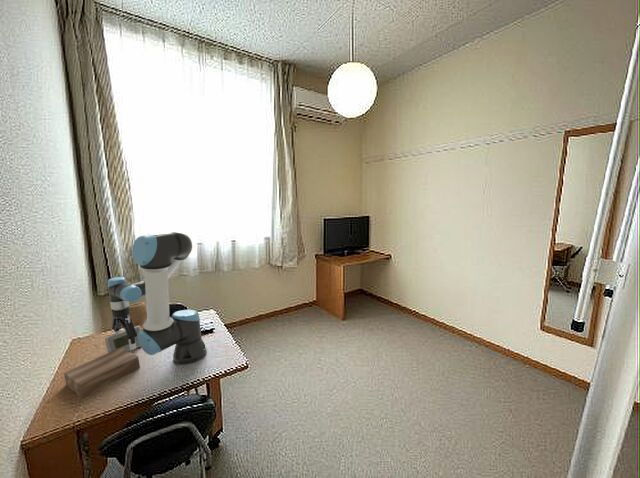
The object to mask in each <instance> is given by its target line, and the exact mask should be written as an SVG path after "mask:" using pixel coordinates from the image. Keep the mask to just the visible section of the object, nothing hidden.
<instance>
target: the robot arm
mask: <svg viewBox="0 0 640 478" xmlns="http://www.w3.org/2000/svg"><path fill="white" fill-rule="evenodd" d="M131 249H132V250H131V255H132V257H133V262H135V264H137V265H138V266H139V267H140V269H142V270H143V271H144V280H140V281H137V282H133V283H127V280H126V277H123V276H116V277H112V278H109V279H108V280H107V290H108V291H107V292H108V294H109V296H108V297H109V304H110V309H111V316H112V324H111V329H112V330H113V332H114V334H116V333H118V332H121V331H122V328H123V329H124V330H125V331H126V333H127V334H128V336H129V338H128V340H129V347H130V350H132V351H134V350H133V349H135V348H136V341H135V337H138V341H139V344H140V346H141V347H140V348H141V349H142V350H143V351H144V352H145V354H147V355H149V356H154V355H156V354H158V353H162V352H163V351H164V350H166V349H168V348H171V347H173V346H174V345H175V346H174V351H173V354H172V355H173V357H172V358H173V362H174V363H176V364H178V365H187V364H192V363H195V362H198V361H200V360H201V359H203V358H204V357H205V356H206V354H207V346H206V344H205V342H204V340H203V339H202V332H201V331H202V330H201V318H200V314H199V312H198V311H197V310H194V309H183V310H177V311H174V312H173V313H172V315H171V316H170V295H169V294H170V293H169V278H170V277H171V276H172V274H173V273H174V272H175V271H176V269H177V268H178V266H180V264H181V263H182V261H185V260H187V258H189V256H190V254H191V253H192V251H193V242H192V240H191V237H189V235H188V234H186V233H185V232H182V231H179V230H170V231H164V232H155V233H148V234H144V235H141V236H140V235H139V236H138V237H136V239H135V240H134V241H133V244H132V248H131ZM142 297H145V305H146V310H147V312H146V318H147V321H145V322H144V324H143V330H142V331H140V332H139V333H138V336H137V333H136V331H135V328H134V325H133V323H132V319H131V318H130V317H129V315H128V314H129V313H130V306H129V305H130V303H135V302H137V301H139V299H141V298H142ZM135 350H136V349H135Z"/></svg>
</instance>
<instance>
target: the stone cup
mask: <svg viewBox="0 0 640 478" xmlns="http://www.w3.org/2000/svg"><path fill="white" fill-rule="evenodd" d="M129 306H130V313H129V314H128V315H127V316H128V318H131V319H132V323H133V325H134V327H136V326H140V328H141V331H143V324H144V322H145V321H147V310H146V302H144V301H140V302H136V303H135V302H134V303H133V304H129Z"/></svg>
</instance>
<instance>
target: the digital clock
mask: <svg viewBox="0 0 640 478" xmlns="http://www.w3.org/2000/svg"><path fill="white" fill-rule="evenodd" d="M134 328H135V331H136V333H137V336H138V333H139V332H140V331H141V328H140V326H136V327H134ZM128 338H129V336H128V334H127V333H126V331H125V329H124V330H121V332H118V333H116V334H115V333H113V334H112V335H109V336H106V337H104V341H105V343H104V344H105V346H106V349H107V353H109V352H112V351H114V350H116V349H118V348H123V349H125V350H127V351H129V352H131V351H135V350H137V349H138V348H142V347H141V346H140V344H139V341H138V337H135V341H136V348H135V349H133V350H130V347H129V340H128Z"/></svg>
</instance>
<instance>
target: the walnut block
mask: <svg viewBox="0 0 640 478" xmlns="http://www.w3.org/2000/svg"><path fill="white" fill-rule="evenodd" d="M140 368H141V366H140V360H139V356H138V355H136V354H134V353H133V352H131V351H130V352H129V351H127V350H125V349H123V348H118V349H116V350H114V351H112V352H109V353H108V352H107V353H105V354H103V355H100V356H99V357H97V358H94V359H92V360H88V361H87V362H84V363H83V364H80V365H78V366H76V367H73V368H72V369H69V370H67V371H64V372H63V376H64V381H65V384H66V385H65V386H67V388H69V389H71V391H73V392H74V393H75V394H77V395H78V396H79V397H80V398H82V399H84V398H86V397H87V396H90V395H92V394H93V393H95V392H98V391H99V390H101V389H103V388H105V387H107V386H108V385H111V384H112V383H115V382H116V381H118V380H120V379H122V378H124V377H126V376H128V375H129V374H131V373H133V372H135V371H137V370H139V369H140Z"/></svg>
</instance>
